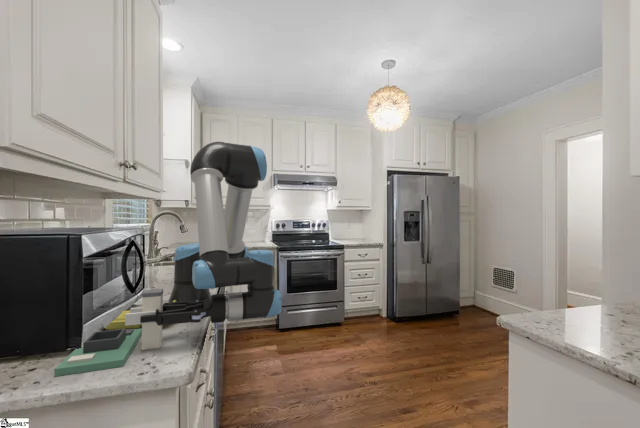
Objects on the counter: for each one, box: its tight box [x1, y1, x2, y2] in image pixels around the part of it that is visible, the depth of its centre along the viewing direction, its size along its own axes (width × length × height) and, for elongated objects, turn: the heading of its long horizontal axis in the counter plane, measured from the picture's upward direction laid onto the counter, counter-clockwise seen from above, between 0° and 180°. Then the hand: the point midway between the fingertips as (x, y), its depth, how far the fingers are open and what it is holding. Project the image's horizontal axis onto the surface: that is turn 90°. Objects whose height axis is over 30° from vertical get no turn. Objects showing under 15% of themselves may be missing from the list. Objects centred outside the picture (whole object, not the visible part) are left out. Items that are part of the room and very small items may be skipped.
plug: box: [141, 288, 164, 351], centre depth 75 cm, size 4×4×14 cm
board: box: [54, 327, 142, 377], centre depth 71 cm, size 20×12×4 cm, turn 21°
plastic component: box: [104, 300, 176, 331], centre depth 90 cm, size 20×7×10 cm
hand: (128, 316), depth 73 cm, fingers closed on plug, 4 cm apart
